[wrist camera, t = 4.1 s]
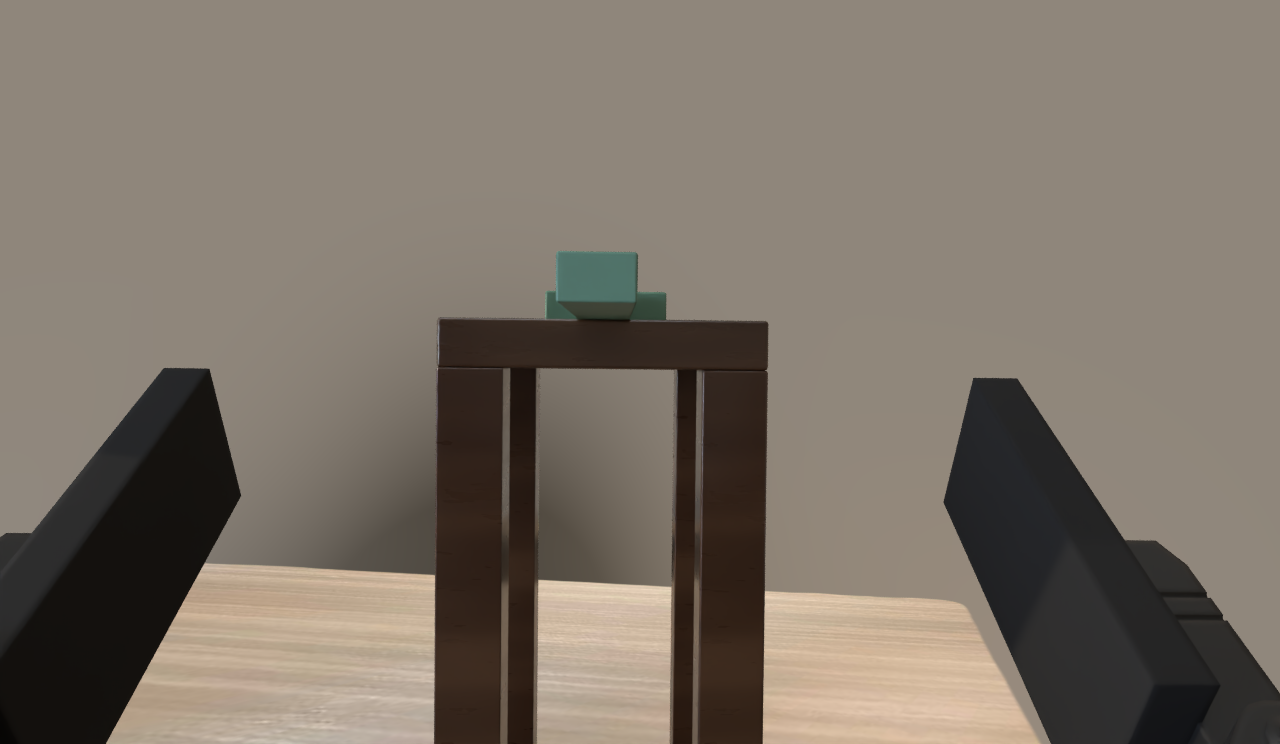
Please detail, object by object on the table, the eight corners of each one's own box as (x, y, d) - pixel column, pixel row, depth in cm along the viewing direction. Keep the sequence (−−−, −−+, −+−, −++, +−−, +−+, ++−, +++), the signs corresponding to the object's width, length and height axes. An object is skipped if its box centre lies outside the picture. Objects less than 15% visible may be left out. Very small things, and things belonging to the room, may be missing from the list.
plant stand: (755, 1291, 29) (768, 321, 29) (430, 1296, 29) (436, 316, 29) (710, 988, 43) (719, 330, 43) (490, 990, 43) (495, 328, 43)
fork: (708, 303, 19) (709, 242, 19) (483, 301, 19) (484, 239, 19) (658, 328, 41) (658, 300, 41) (555, 327, 41) (555, 299, 41)
